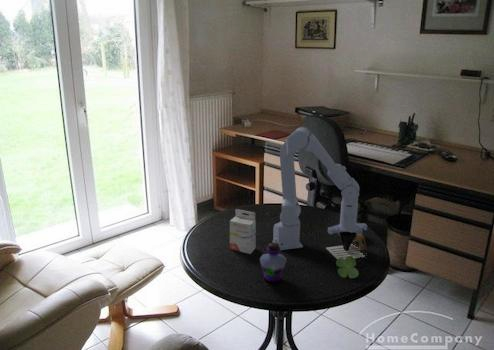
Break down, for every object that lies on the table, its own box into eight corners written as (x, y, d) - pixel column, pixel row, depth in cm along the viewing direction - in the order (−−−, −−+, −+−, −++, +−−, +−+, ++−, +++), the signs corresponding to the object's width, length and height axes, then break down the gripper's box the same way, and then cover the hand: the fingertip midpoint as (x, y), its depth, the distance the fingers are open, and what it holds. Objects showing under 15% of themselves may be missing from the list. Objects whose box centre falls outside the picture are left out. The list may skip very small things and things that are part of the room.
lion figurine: (334, 243, 150) (338, 224, 151) (336, 244, 154) (340, 225, 155) (367, 251, 145) (371, 231, 146) (368, 252, 149) (372, 232, 150)
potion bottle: (260, 285, 126) (260, 250, 123) (258, 271, 135) (258, 238, 131) (288, 285, 127) (289, 250, 124) (284, 271, 135) (285, 237, 132)
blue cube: (350, 242, 157) (351, 228, 155) (343, 236, 161) (344, 223, 160) (361, 240, 158) (362, 227, 157) (354, 235, 163) (356, 222, 161)
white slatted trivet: (338, 260, 142) (338, 259, 142) (325, 248, 151) (325, 247, 151) (369, 256, 145) (369, 255, 145) (354, 244, 155) (354, 243, 155)
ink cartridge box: (229, 250, 150) (228, 212, 146) (235, 244, 154) (235, 208, 150) (250, 254, 146) (250, 216, 142) (256, 249, 150) (256, 211, 146)
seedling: (348, 285, 136) (349, 284, 130) (330, 267, 138) (330, 266, 132) (363, 269, 136) (365, 268, 130) (344, 252, 139) (345, 250, 133)
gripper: (335, 221, 139) (332, 257, 142) (373, 216, 142) (369, 252, 146) (326, 213, 145) (323, 248, 149) (362, 209, 149) (359, 243, 153)
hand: (345, 249), depth 148 cm, fingers closed, pressing on lion figurine
